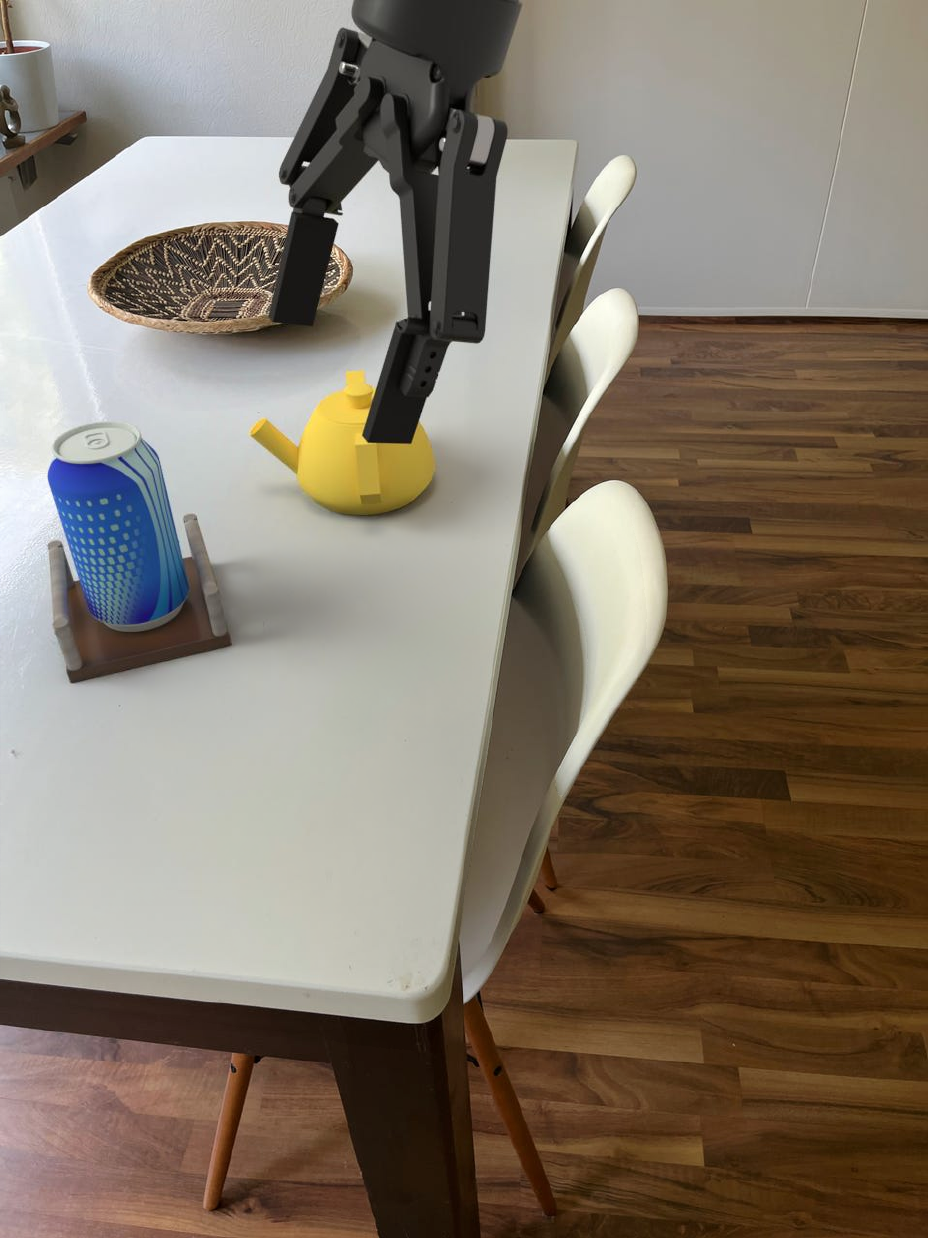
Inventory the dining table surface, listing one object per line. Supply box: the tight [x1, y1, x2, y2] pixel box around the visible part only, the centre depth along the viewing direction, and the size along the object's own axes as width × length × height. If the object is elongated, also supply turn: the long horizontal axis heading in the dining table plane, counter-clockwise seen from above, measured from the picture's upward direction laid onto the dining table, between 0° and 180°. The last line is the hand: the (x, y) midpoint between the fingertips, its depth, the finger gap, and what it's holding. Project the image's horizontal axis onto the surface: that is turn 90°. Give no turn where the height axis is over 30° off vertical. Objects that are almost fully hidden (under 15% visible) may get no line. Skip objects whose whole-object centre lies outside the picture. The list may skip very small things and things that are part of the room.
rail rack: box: [46, 513, 233, 684], centre depth 84 cm, size 13×13×6 cm
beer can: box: [46, 420, 189, 632], centre depth 80 cm, size 8×8×16 cm
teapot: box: [248, 370, 436, 516], centre depth 100 cm, size 20×18×11 cm
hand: (335, 377), depth 57 cm, fingers open, 13 cm apart
